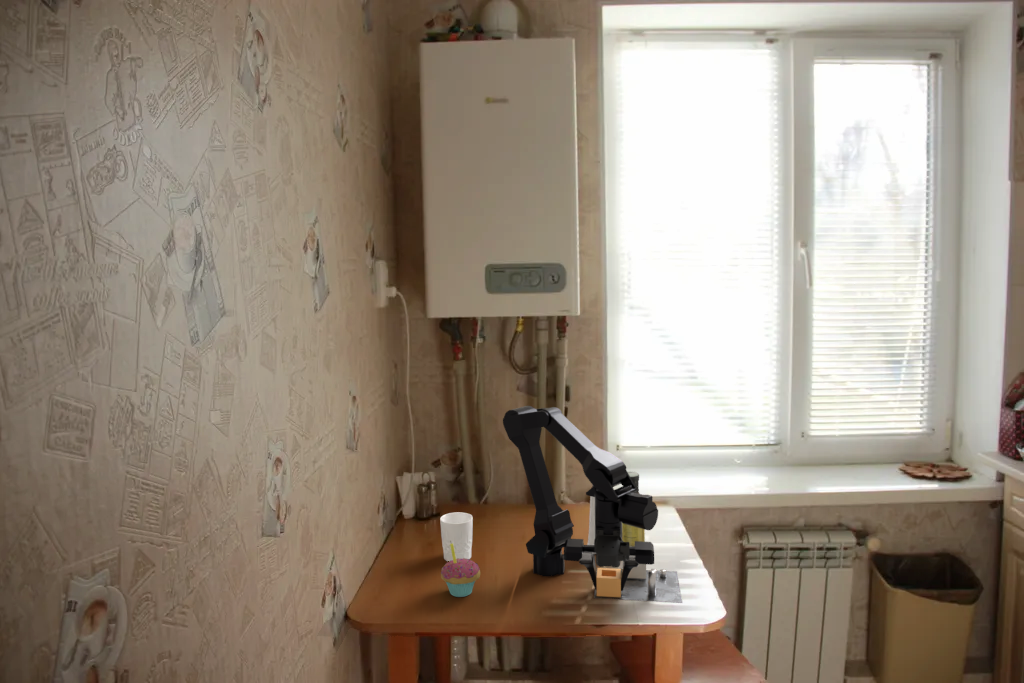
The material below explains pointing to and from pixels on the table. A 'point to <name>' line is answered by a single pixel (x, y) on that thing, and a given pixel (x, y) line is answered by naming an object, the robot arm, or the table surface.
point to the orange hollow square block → (609, 582)
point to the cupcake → (460, 575)
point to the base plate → (642, 589)
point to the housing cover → (638, 572)
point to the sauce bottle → (632, 532)
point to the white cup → (456, 535)
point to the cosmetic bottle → (592, 522)
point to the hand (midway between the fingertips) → (608, 589)
